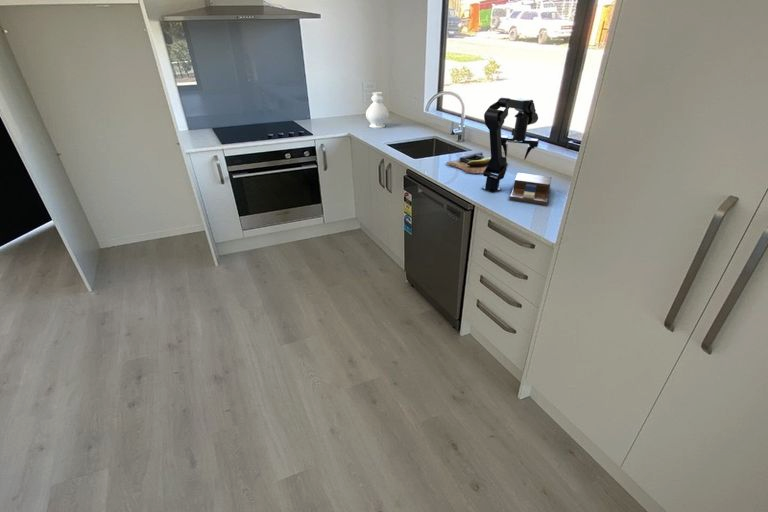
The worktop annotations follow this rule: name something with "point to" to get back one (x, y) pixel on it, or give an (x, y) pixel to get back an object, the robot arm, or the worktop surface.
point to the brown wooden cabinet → (540, 181)
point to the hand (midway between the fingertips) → (515, 158)
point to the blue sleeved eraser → (529, 191)
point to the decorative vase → (377, 111)
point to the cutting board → (472, 165)
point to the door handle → (472, 157)
